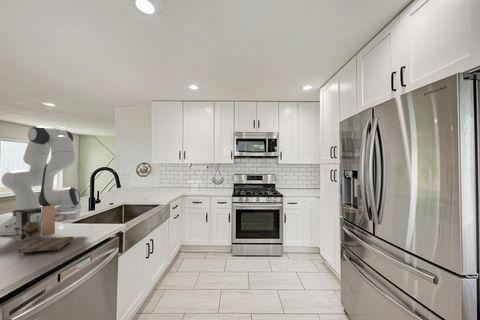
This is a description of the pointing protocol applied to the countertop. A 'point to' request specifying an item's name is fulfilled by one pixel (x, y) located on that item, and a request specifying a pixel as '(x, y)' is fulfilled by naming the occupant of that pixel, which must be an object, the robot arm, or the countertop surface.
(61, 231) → the countertop surface
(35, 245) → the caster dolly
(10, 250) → the countertop surface
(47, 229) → the terracotta canister
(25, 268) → the countertop surface
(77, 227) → the countertop surface
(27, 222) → the coffee box
